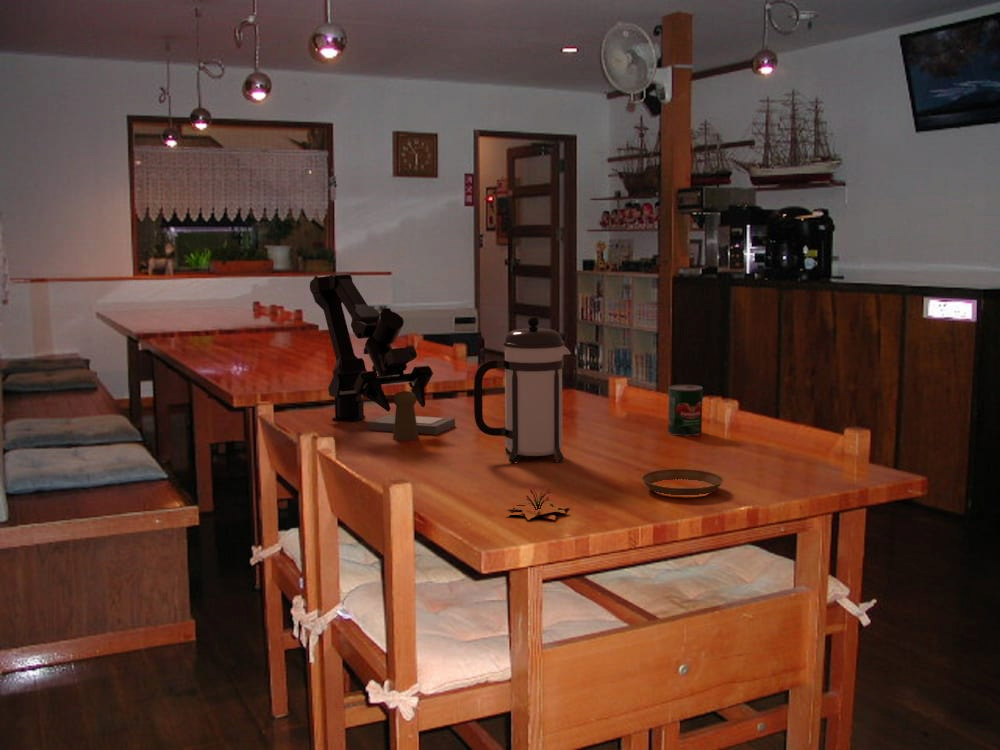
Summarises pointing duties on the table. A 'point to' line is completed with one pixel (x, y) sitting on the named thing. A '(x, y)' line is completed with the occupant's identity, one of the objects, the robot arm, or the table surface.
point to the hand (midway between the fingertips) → (406, 408)
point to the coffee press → (528, 392)
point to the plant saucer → (683, 474)
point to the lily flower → (539, 501)
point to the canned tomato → (685, 410)
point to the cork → (405, 417)
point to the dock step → (423, 422)
